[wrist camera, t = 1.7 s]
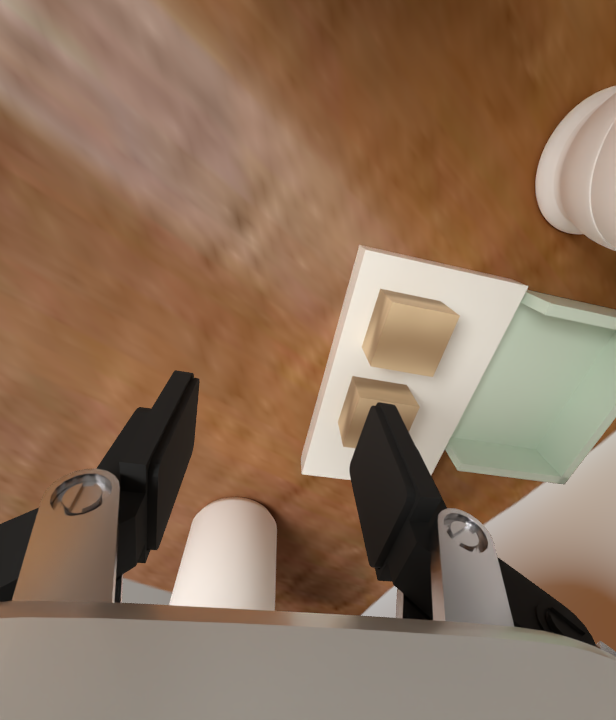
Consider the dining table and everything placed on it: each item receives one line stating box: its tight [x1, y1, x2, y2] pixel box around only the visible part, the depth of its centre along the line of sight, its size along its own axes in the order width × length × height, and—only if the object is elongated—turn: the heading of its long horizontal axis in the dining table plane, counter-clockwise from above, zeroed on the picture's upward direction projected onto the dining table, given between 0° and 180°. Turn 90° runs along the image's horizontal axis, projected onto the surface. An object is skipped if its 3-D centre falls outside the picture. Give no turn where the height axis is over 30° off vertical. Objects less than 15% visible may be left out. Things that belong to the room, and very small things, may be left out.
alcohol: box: [169, 497, 277, 611], centre depth 23 cm, size 9×9×30 cm
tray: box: [445, 290, 616, 484], centre depth 28 cm, size 15×10×4 cm
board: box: [301, 245, 529, 480], centre depth 28 cm, size 20×12×2 cm, turn 168°
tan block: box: [338, 376, 420, 448], centre depth 26 cm, size 4×4×3 cm
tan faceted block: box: [362, 289, 460, 377], centre depth 23 cm, size 4×4×3 cm
